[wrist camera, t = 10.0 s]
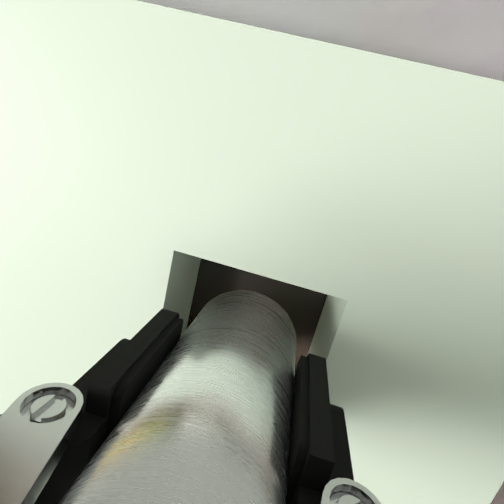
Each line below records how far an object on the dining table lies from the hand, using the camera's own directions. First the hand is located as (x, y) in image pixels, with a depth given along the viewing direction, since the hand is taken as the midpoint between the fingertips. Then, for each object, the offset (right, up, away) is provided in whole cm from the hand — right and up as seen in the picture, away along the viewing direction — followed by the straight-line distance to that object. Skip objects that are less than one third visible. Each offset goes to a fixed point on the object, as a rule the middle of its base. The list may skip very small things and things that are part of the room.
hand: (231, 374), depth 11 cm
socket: (+1, +1, +5) cm, 5 cm away
